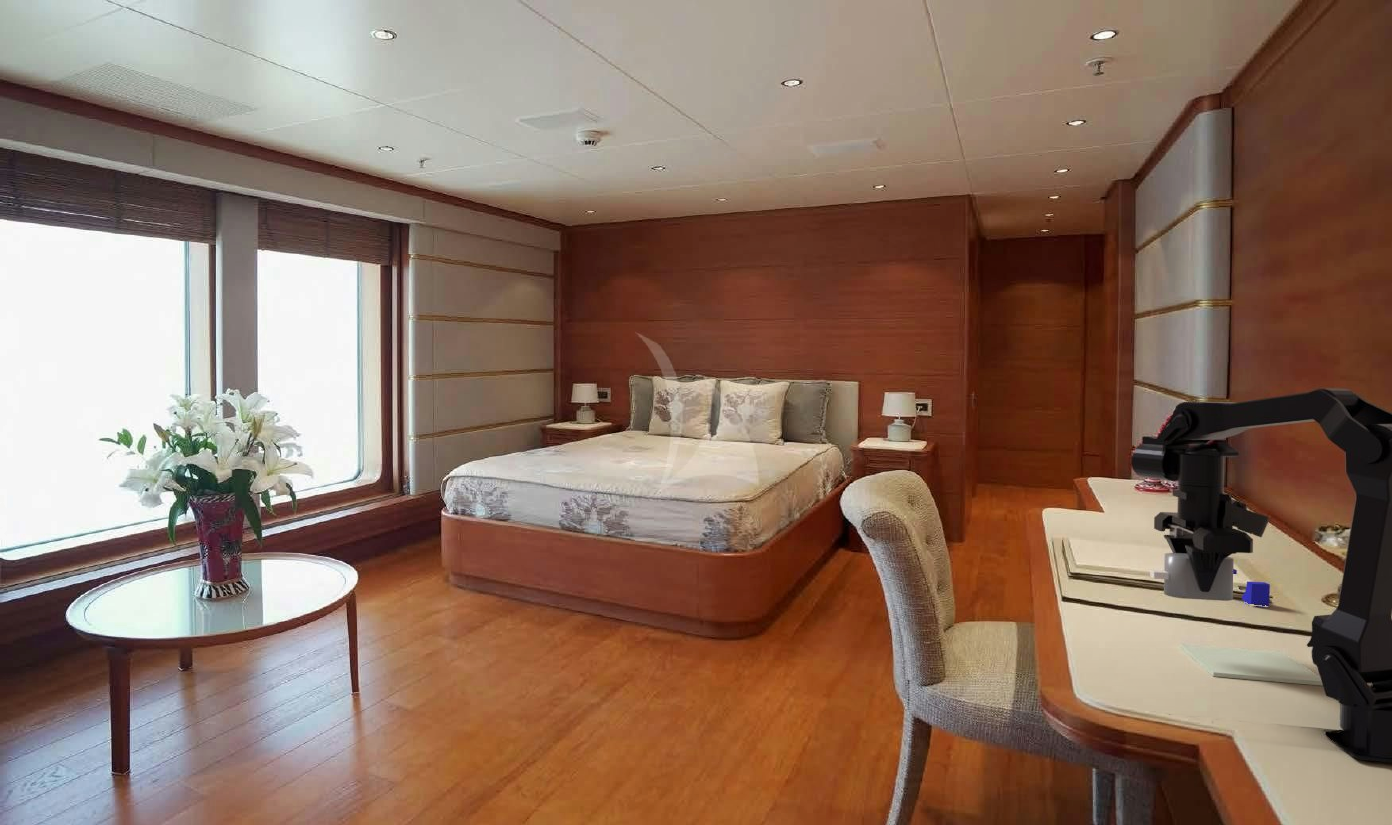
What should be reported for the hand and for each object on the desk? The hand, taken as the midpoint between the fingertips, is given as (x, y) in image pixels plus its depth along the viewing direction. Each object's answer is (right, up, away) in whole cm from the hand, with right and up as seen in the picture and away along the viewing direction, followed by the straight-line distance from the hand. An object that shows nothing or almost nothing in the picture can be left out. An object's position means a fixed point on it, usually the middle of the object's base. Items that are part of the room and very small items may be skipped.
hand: (1198, 587), depth 114 cm
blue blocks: (+27, -11, +29) cm, 41 cm away
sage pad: (+7, -11, -1) cm, 13 cm away
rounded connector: (0, -1, 0) cm, 1 cm away
